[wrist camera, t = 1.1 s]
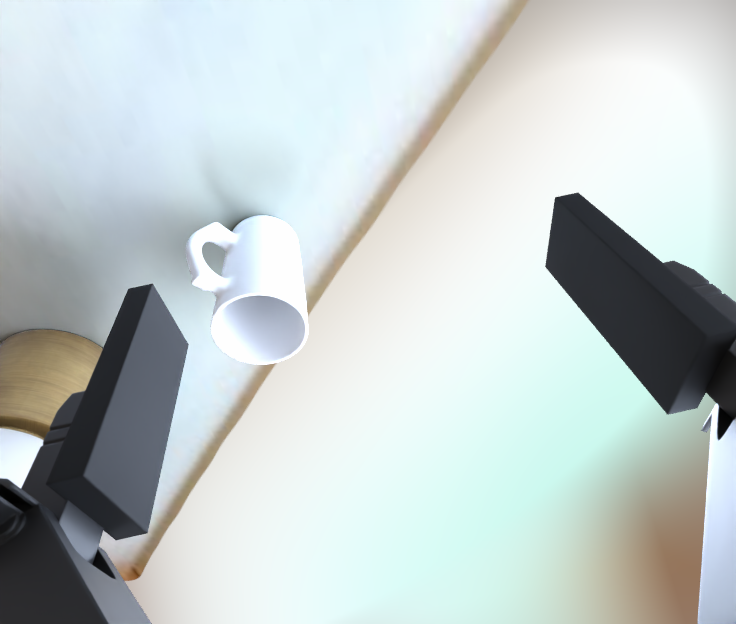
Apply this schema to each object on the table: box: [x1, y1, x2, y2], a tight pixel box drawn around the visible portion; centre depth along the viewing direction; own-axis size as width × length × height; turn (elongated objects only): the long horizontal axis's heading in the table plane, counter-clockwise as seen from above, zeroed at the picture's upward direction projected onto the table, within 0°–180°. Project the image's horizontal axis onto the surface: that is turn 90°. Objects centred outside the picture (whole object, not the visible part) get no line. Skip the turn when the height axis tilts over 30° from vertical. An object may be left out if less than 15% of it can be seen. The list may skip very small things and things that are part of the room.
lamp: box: [0, 329, 103, 488], centre depth 35 cm, size 15×14×25 cm
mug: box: [186, 215, 308, 364], centre depth 35 cm, size 10×7×12 cm, turn 41°
